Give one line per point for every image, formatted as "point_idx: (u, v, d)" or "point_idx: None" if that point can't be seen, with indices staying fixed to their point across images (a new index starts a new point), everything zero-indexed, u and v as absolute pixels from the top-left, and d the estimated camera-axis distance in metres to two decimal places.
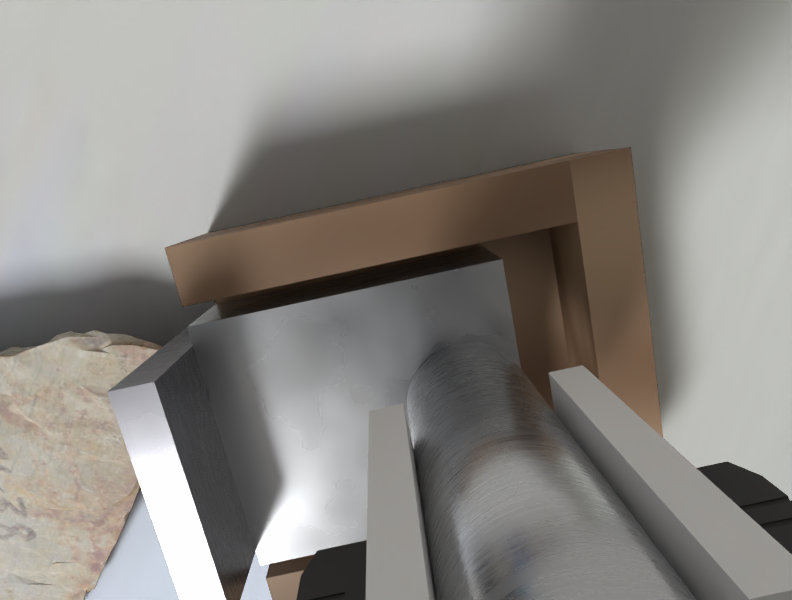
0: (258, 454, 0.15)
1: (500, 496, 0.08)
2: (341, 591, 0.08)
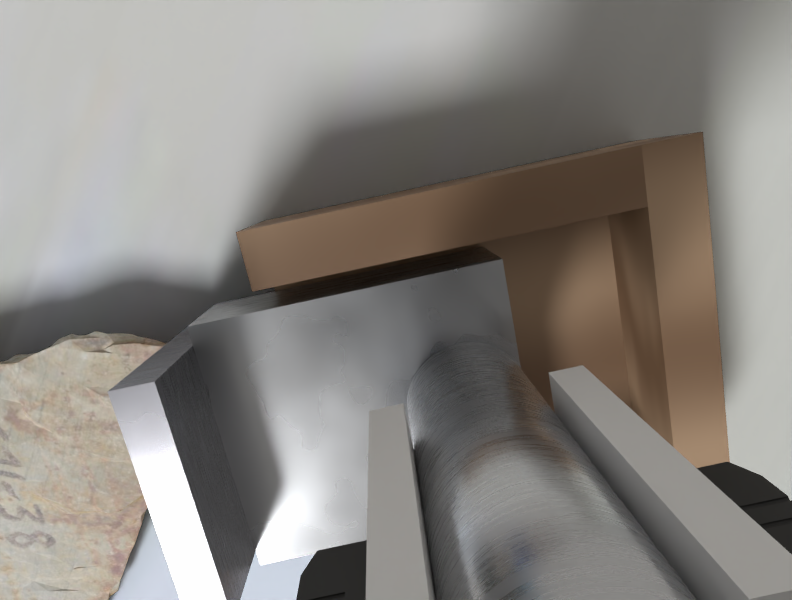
0: (258, 453, 0.15)
1: (501, 496, 0.08)
2: (341, 591, 0.08)
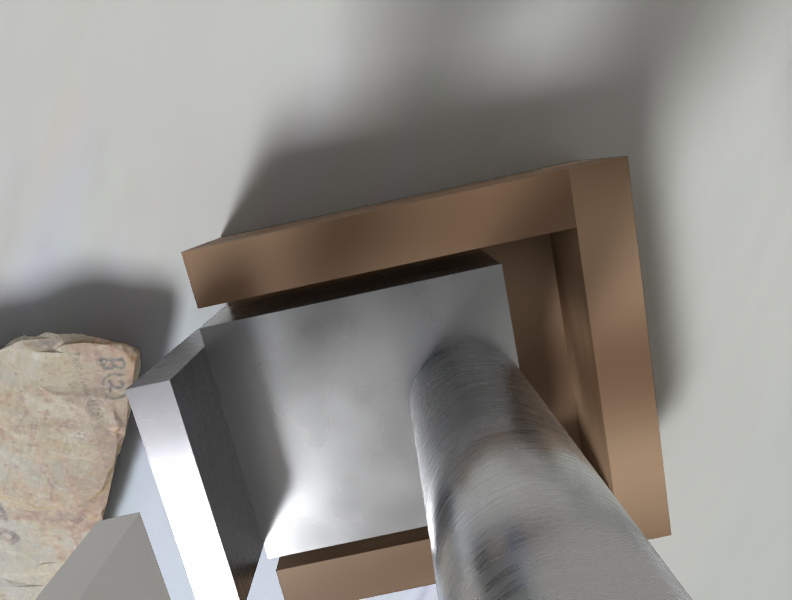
0: (266, 450, 0.15)
1: (496, 485, 0.08)
2: None
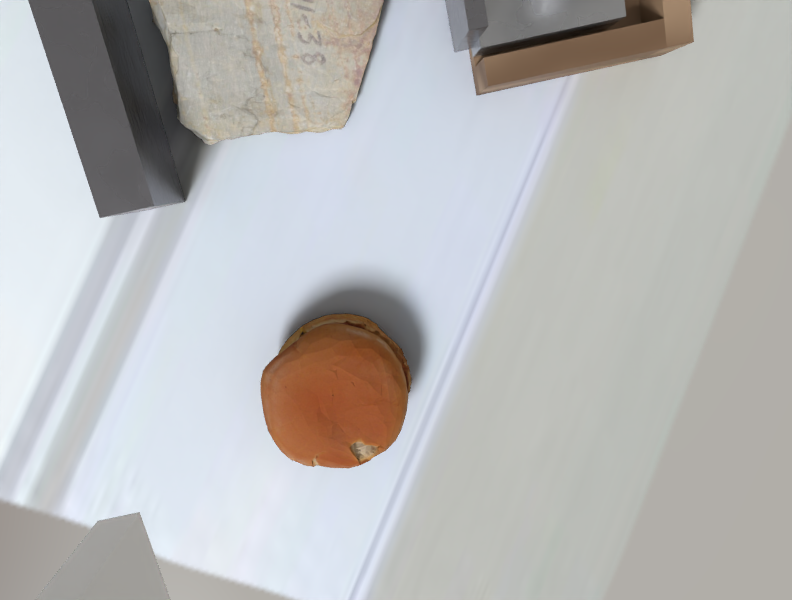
0: None
1: None
2: None
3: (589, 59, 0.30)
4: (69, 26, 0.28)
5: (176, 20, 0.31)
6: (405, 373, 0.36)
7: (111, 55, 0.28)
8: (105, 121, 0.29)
